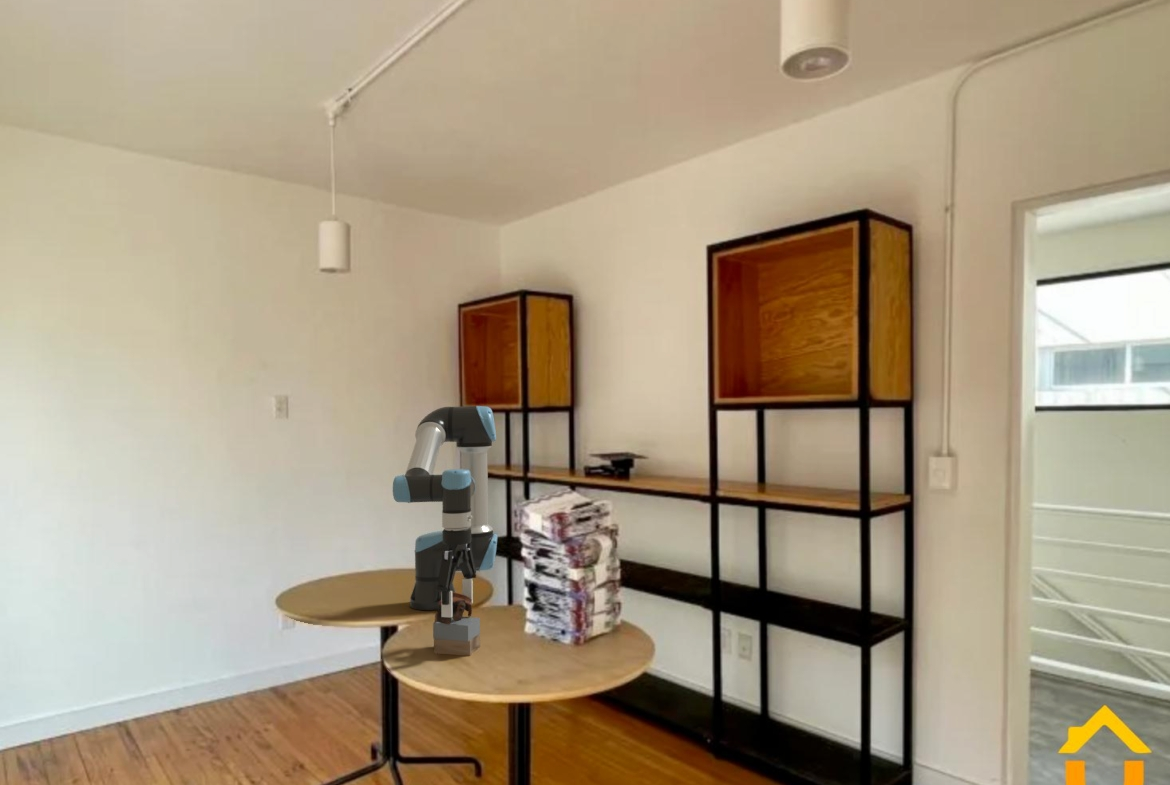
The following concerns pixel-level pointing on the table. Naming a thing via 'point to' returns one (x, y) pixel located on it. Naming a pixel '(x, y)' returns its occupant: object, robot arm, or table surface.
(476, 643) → the walnut block
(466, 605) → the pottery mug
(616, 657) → the table surface
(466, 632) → the blue-grey block
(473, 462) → the robot arm
